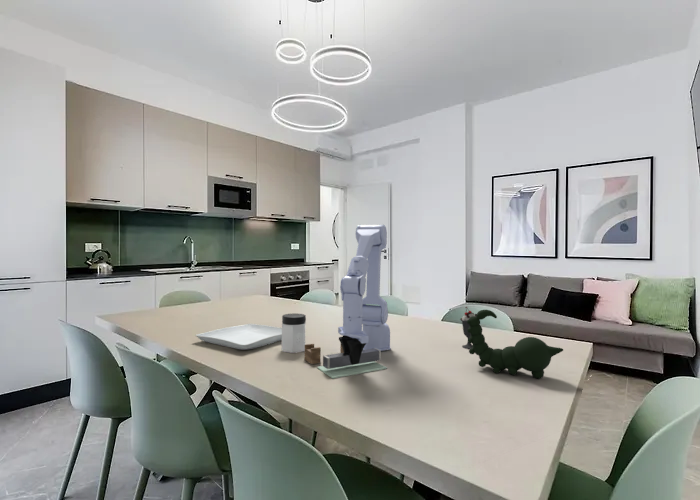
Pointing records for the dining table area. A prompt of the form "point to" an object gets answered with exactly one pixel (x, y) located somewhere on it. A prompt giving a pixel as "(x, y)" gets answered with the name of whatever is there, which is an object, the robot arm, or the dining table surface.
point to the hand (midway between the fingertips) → (352, 362)
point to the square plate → (243, 336)
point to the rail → (345, 358)
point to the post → (312, 354)
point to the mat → (352, 369)
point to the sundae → (466, 326)
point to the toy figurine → (510, 351)
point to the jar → (293, 332)
